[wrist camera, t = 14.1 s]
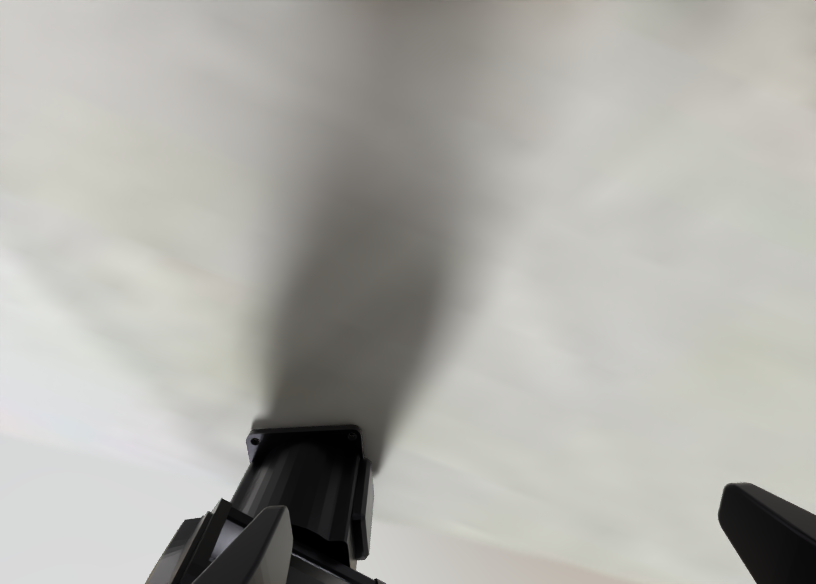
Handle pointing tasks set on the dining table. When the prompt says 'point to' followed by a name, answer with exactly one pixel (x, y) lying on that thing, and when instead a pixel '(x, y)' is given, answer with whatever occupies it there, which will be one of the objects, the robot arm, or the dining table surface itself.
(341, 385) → the dining table surface
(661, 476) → the dining table surface
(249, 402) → the dining table surface
